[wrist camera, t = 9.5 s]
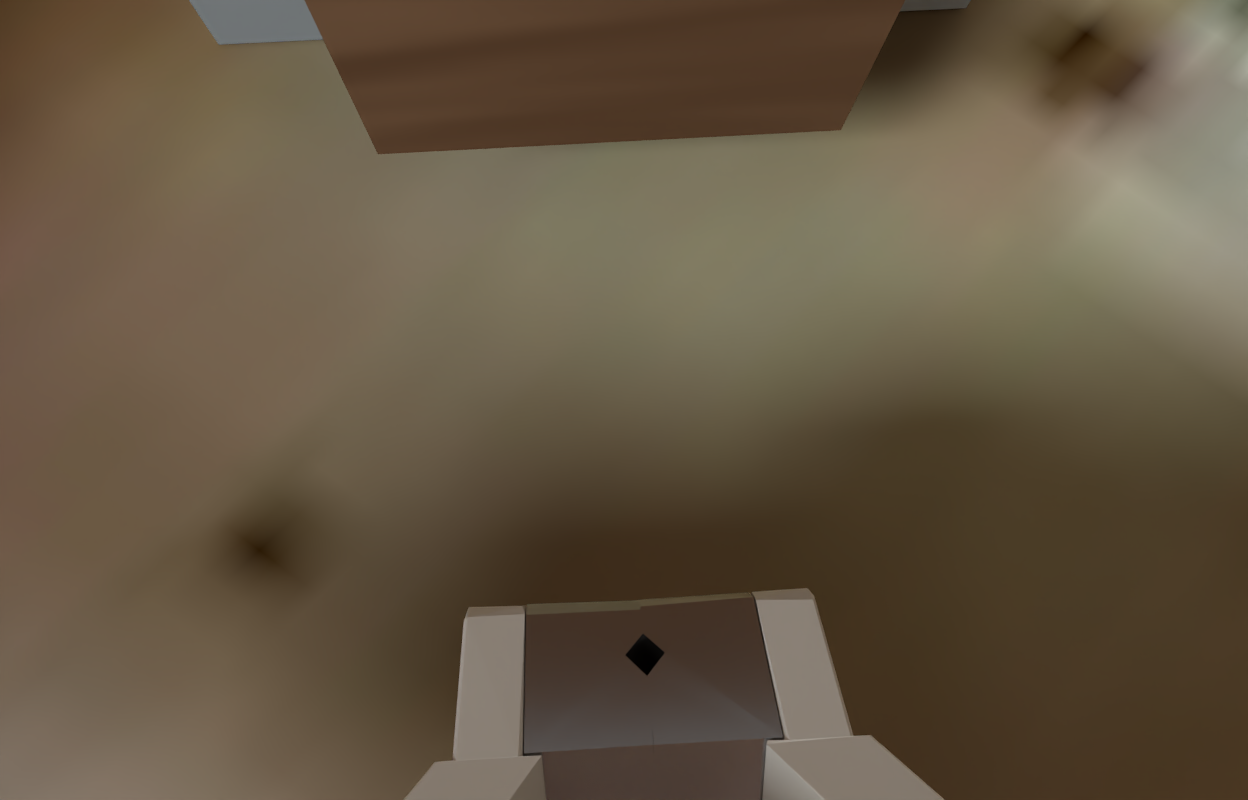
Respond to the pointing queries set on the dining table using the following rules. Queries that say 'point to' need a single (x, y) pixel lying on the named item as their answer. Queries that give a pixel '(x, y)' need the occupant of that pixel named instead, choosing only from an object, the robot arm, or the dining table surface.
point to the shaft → (598, 68)
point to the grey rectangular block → (276, 11)
